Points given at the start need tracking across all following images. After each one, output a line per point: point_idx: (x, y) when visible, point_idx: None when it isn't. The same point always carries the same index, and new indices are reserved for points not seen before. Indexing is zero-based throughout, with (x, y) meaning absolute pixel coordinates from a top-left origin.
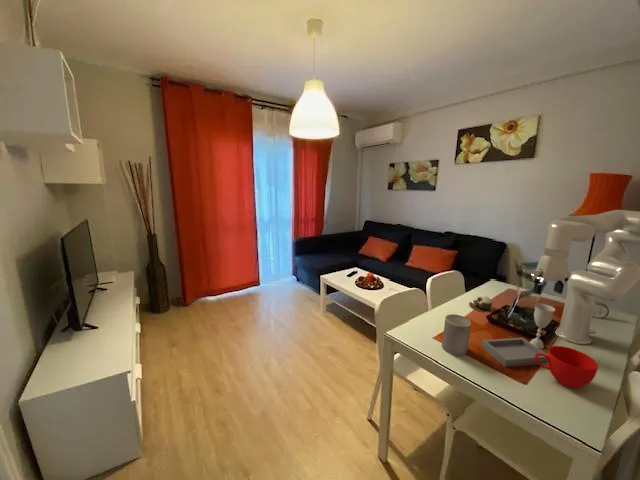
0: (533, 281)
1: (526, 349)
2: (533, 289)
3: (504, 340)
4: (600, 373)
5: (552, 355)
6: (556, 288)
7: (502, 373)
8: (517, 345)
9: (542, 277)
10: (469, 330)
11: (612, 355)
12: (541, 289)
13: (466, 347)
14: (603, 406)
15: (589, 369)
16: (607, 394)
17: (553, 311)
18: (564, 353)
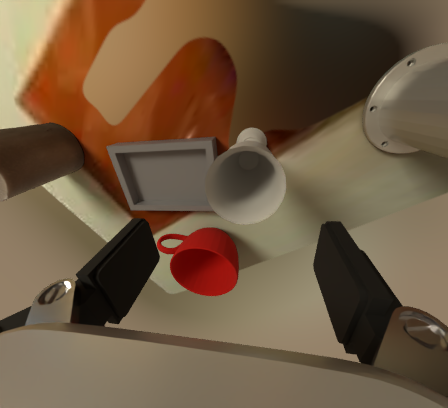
0: (27, 309)
1: (203, 169)
2: (125, 228)
3: (157, 150)
4: (292, 233)
5: (170, 265)
6: (328, 263)
7: (128, 215)
8: (192, 153)
9: (129, 341)
10: (26, 188)
11: (402, 196)
12: (136, 290)
13: (66, 173)
14: None
15: (203, 294)
16: (249, 262)
17: (252, 220)
18: (219, 244)
